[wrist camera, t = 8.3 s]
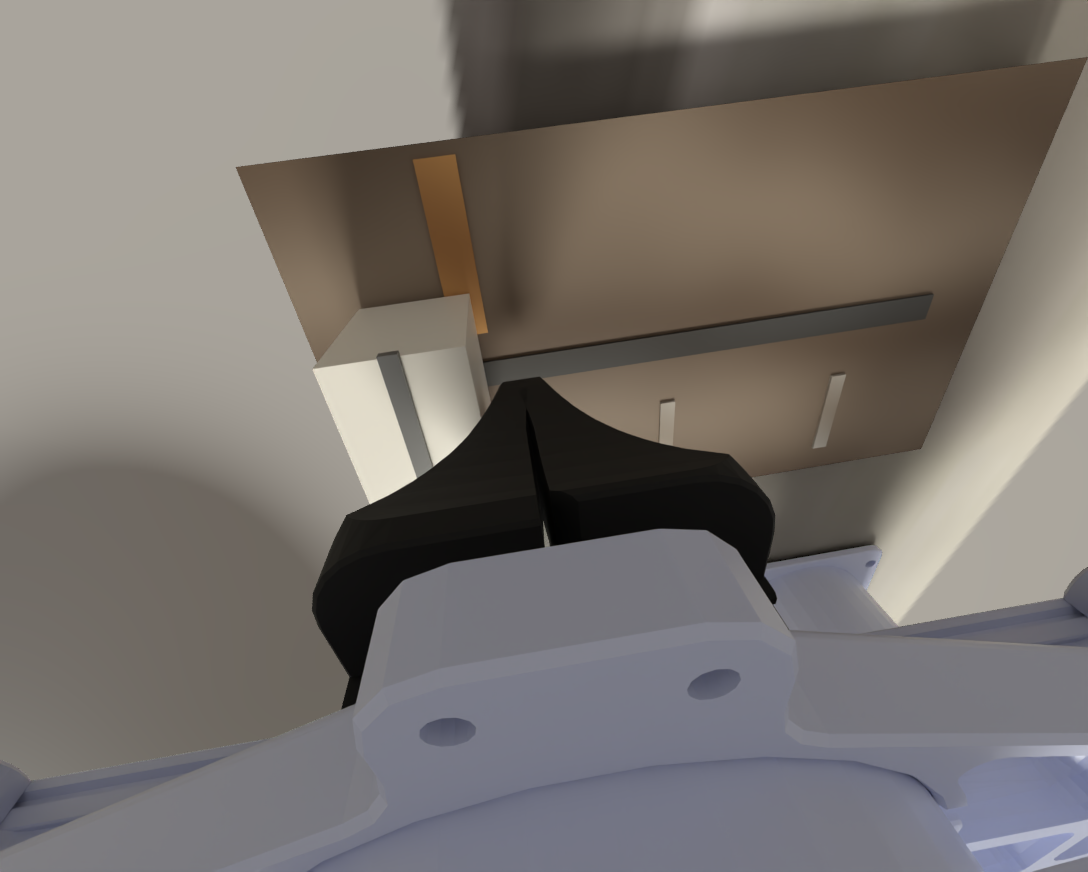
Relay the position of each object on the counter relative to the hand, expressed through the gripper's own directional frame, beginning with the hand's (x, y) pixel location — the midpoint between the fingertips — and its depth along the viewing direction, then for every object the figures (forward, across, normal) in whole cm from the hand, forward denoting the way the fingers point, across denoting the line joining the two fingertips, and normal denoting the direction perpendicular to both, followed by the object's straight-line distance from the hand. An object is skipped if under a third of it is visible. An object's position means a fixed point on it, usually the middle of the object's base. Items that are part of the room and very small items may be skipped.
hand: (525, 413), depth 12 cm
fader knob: (+2, +2, 0) cm, 3 cm away
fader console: (+4, -5, 0) cm, 6 cm away
